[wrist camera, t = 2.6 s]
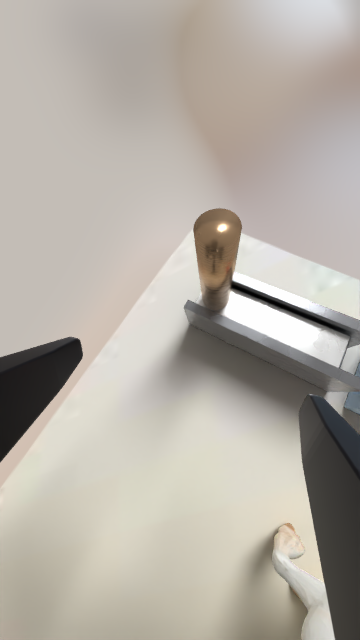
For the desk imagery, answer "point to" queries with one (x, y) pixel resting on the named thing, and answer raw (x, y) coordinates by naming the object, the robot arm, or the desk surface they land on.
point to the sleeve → (274, 349)
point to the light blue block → (354, 398)
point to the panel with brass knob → (218, 295)
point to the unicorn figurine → (302, 585)
